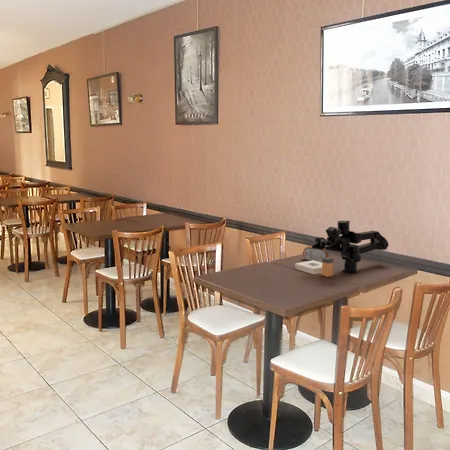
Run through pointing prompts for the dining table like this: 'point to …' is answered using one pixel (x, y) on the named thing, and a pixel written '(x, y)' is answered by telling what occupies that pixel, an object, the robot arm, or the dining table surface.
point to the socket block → (309, 267)
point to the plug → (327, 267)
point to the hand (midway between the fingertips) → (318, 247)
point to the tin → (314, 254)
